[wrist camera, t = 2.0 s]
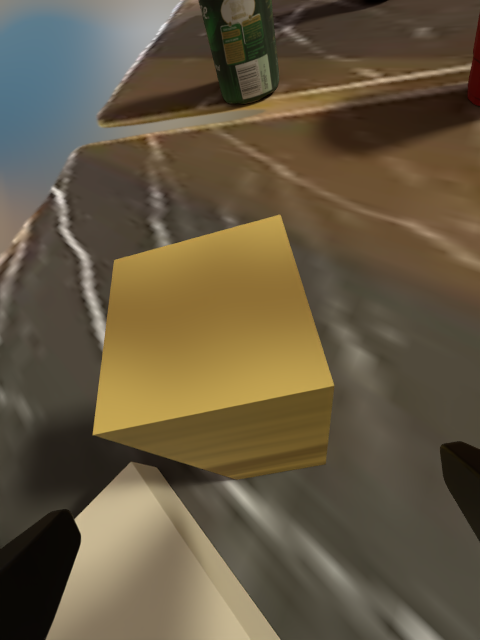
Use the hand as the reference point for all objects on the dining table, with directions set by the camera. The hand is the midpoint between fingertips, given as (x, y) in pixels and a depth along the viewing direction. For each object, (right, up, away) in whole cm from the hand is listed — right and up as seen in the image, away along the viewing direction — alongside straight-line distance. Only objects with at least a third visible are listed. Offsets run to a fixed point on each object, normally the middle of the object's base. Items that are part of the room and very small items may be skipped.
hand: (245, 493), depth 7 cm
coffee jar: (+1, +35, +34) cm, 49 cm away
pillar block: (+2, -2, +11) cm, 11 cm away
